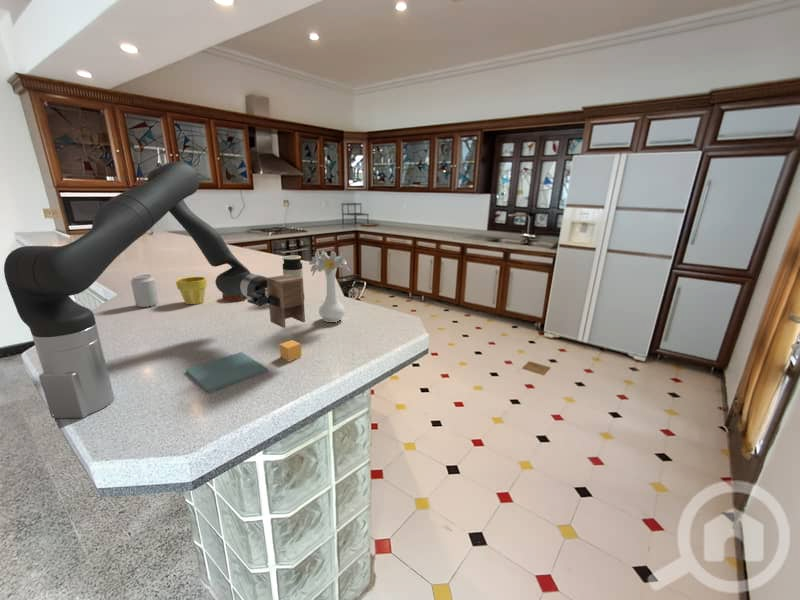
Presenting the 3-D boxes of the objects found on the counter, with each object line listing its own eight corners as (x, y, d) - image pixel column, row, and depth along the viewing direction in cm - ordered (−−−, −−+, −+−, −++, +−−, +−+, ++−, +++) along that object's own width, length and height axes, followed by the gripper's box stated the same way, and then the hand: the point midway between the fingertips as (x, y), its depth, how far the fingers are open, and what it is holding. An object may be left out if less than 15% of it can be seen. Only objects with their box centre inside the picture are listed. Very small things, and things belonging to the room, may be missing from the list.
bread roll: (244, 302, 156) (239, 285, 156) (254, 297, 149) (248, 279, 149) (222, 307, 149) (216, 290, 149) (231, 302, 142) (225, 283, 142)
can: (147, 309, 134) (141, 278, 131) (131, 307, 136) (124, 277, 132) (164, 303, 141) (158, 274, 138) (148, 302, 143) (142, 273, 139)
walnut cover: (305, 321, 94) (302, 278, 90) (283, 327, 89) (279, 281, 86) (292, 316, 98) (289, 274, 94) (270, 321, 93) (266, 277, 90)
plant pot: (181, 300, 146) (177, 277, 143) (209, 297, 150) (206, 275, 147) (178, 307, 137) (174, 283, 134) (208, 304, 141) (204, 280, 138)
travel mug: (305, 299, 149) (302, 258, 144) (286, 301, 146) (282, 258, 141) (303, 295, 156) (300, 254, 151) (284, 296, 153) (281, 255, 148)
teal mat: (267, 371, 89) (266, 368, 88) (208, 392, 79) (208, 389, 78) (241, 354, 97) (241, 351, 97) (186, 372, 87) (185, 369, 87)
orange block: (301, 357, 97) (300, 343, 96) (288, 361, 94) (287, 348, 93) (293, 352, 99) (292, 339, 98) (280, 357, 96) (279, 344, 95)
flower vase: (337, 310, 136) (334, 245, 129) (358, 324, 122) (357, 252, 115) (304, 315, 130) (300, 248, 122) (323, 331, 115) (319, 255, 108)
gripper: (232, 279, 94) (263, 291, 84) (281, 272, 105) (314, 281, 94) (235, 306, 96) (266, 320, 86) (282, 296, 107) (315, 308, 96)
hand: (291, 300), depth 90 cm, fingers closed on walnut cover, 6 cm apart
